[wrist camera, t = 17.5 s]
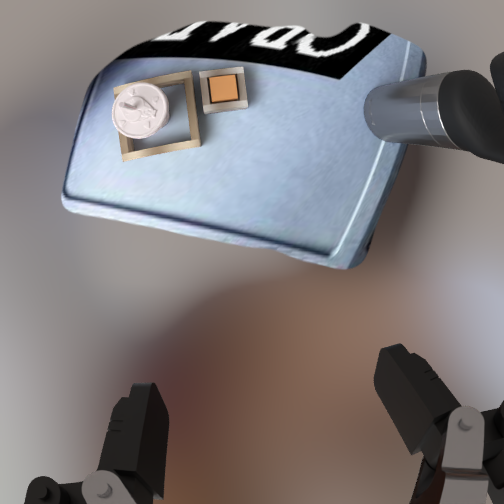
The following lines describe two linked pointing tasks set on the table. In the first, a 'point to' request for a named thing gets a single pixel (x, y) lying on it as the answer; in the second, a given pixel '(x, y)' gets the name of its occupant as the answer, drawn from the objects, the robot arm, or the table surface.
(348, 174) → the table surface
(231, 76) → the button
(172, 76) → the station
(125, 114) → the smoothie
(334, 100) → the table surface
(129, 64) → the table surface
